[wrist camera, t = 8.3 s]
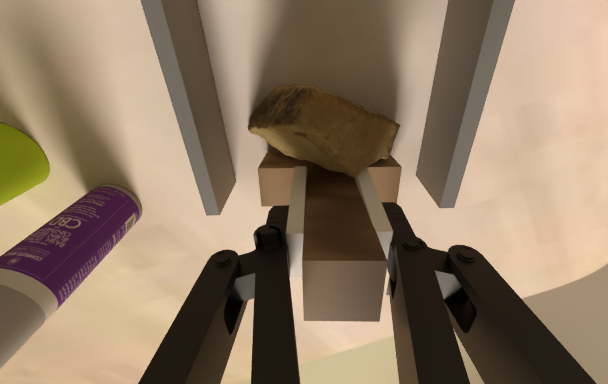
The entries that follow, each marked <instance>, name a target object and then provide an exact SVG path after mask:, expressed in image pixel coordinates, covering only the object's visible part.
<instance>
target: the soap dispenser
mask: <svg viewBox="0 0 608 384" xmlns="http://www.w3.org/2000/svg"><path fill="white" fill-rule="evenodd" d="M48 175H49V163H48V160H47V158H46V156H45V154H44V153H43V151H42V150H41V148H40V147H39V146H38V145H37V144H36V143H35V142H34V141H33V140H32V139H31V138H29V137H28V136H27V135H26V134H24V133H23V132H21V131H19V130H17V129H16V128H13V127H11V126H9V125H6V124H2V123H0V206H1V205H2V204H4V203H6V202H8V201H10V200H11V199H13V198H15V197H17V196H18V195H20V194H22V193H24V192H26V191H27V190H29V189H31V188H33V187H34V186H36V185H38V184H40V183H41V182H43V181H44V180H45V179H46V178H47V177H48Z"/></svg>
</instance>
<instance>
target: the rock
mask: <svg viewBox="0 0 608 384" xmlns="http://www.w3.org/2000/svg"><path fill="white" fill-rule="evenodd" d="M399 127H400V125H399V124H397V123H396V122H394V121H392V120H389V119H387V118H386V117H385V116H382V115H380V114H377V113H375V112H373V111H370V110H367V109H364V108H363V107H362V106H359V105H355V104H353V103H352V102H350V101H348V100H346V99H343V98H341V97H338V96H336V95H334V94H332V93H329V92H326V91H324V90H320V89H317V88H315V87H313V86H310V85H306V86H305V85H293V86H285V85H280V86H278V87H277V88H276V89H275V90H274V91H273V92H272V93H271V94H270V95H269V96H268V97H267V98H266V99H265V100H264V101H263V102H262V103H261V104H260V105H259V106H258V108H257V109H256V111H255V112H254V114H253V116H252V119H251V122H250V124H249V125H248V130H249V131H250V133H252V134H257V135H259V136H260V137H262V138H264V139H265V140H266V141H267V142H268V143H269V144H270V145H272V146H273V147H275V148H277V149H278V150H280V151H281V152H282V153H283V154H284V155H286V156H291V157H294V158H296V159H298V160H308V161H310V162H313V163H316V164H318V165H320V166H322V167H323V168H325V169H327V170H331V171H335V172H343V173H345V174H347V175H348V176H352V177H357V176H358V175H359V174H360V172H361V171H362V170H363V169H364V168H365V167H367V166H368V165H370V164H373V163H375V161H378V160H379V159H388V157H389V156H390V153H391V149H392V145H393V142H394V140H395V137H396V135H397V132H398V130H399Z"/></svg>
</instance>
